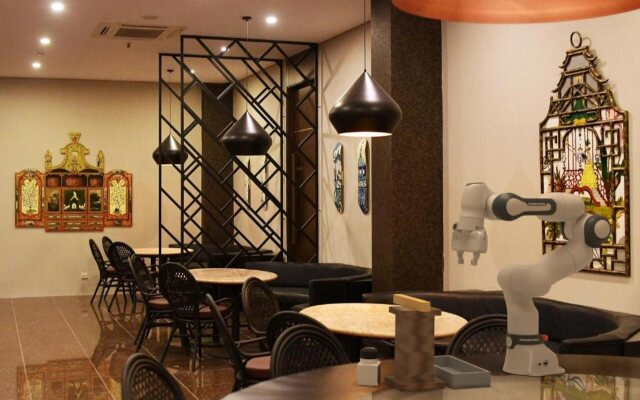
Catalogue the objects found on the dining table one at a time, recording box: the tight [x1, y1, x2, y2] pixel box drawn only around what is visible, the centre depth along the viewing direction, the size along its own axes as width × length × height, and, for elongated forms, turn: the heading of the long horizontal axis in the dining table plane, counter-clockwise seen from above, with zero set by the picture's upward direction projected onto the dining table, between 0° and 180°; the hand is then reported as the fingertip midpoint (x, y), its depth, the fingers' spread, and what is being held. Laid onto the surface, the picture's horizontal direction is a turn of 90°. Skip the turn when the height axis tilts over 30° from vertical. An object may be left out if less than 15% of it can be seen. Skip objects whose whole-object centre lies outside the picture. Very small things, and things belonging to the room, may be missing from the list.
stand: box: [383, 305, 446, 392], centre depth 273 cm, size 16×14×26 cm
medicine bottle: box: [356, 347, 382, 387], centre depth 275 cm, size 7×7×12 cm
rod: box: [392, 293, 431, 312], centre depth 276 cm, size 3×24×3 cm, turn 18°
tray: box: [434, 355, 492, 390], centre depth 284 cm, size 14×30×5 cm, turn 18°
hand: (467, 264), depth 291 cm, fingers open, 8 cm apart
